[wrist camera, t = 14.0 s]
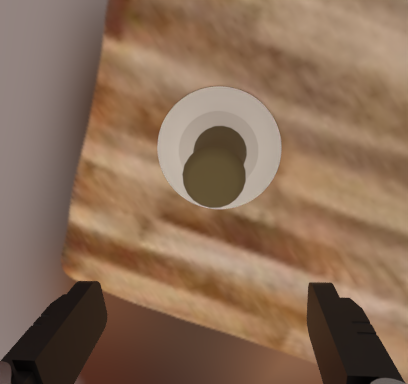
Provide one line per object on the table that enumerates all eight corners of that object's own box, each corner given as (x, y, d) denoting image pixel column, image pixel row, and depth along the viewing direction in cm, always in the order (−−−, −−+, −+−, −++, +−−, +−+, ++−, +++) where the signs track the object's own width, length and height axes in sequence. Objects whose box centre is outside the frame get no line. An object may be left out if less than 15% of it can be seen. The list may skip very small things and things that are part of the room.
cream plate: (280, 80, 30) (282, 80, 29) (279, 203, 35) (281, 207, 34) (151, 92, 32) (149, 92, 31) (167, 208, 36) (165, 211, 35)
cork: (187, 132, 32) (164, 153, 21) (241, 120, 31) (244, 135, 20) (200, 182, 34) (184, 224, 23) (251, 172, 32) (258, 211, 22)
